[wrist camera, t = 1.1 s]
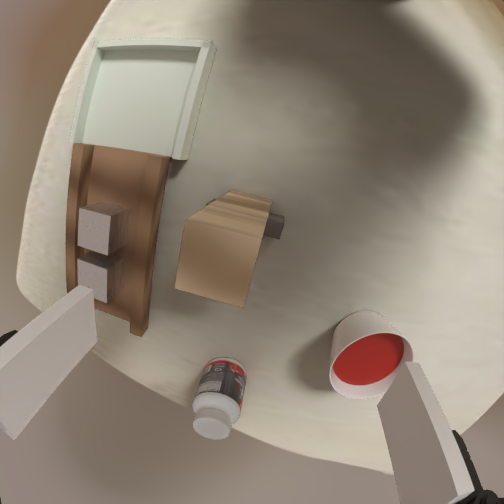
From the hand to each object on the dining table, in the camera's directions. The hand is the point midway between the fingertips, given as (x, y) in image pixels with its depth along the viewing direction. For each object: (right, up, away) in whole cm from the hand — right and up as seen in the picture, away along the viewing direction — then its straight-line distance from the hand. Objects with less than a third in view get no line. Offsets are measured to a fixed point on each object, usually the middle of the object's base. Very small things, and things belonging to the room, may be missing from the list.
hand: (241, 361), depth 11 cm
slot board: (-15, +6, +20) cm, 26 cm away
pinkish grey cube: (-16, +2, +20) cm, 26 cm away
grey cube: (-15, +7, +18) cm, 25 cm away
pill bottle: (-3, -11, +24) cm, 27 cm away
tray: (-11, +21, +15) cm, 28 cm away
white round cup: (+13, -5, +21) cm, 25 cm away
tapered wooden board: (0, +8, +18) cm, 19 cm away
